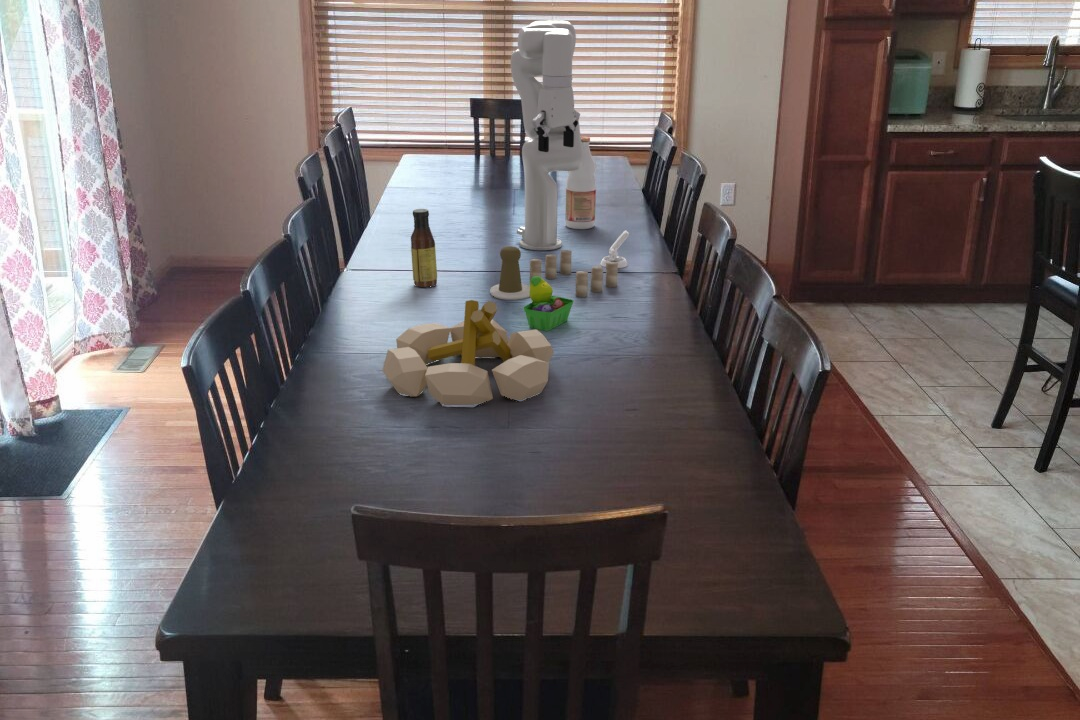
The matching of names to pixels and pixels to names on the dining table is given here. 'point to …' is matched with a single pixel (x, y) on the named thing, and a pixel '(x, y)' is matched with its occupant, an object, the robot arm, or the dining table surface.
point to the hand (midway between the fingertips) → (556, 149)
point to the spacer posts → (580, 275)
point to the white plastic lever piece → (614, 253)
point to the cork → (510, 270)
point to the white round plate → (510, 296)
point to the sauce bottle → (423, 251)
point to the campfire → (469, 359)
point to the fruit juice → (581, 192)
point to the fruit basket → (545, 306)
